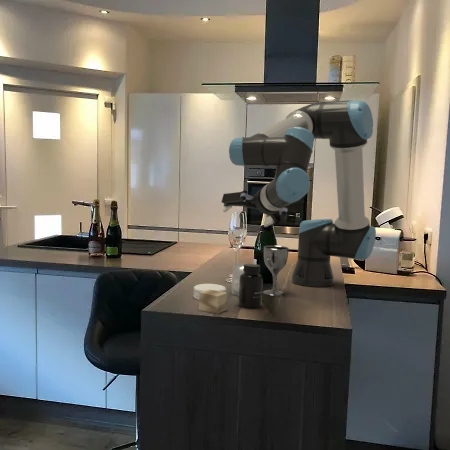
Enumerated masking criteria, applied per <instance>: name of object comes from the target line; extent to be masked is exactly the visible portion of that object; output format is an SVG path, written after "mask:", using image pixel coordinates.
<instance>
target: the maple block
mask: <svg viewBox="0 0 450 450" xmlns="http://www.w3.org/2000/svg"><path fill="white" fill-rule="evenodd" d="M198 303H199V304H198V310H199V311H203V312H208V313H210V314H211V313H212V314H217V315H218V314H220V313H222V312H224V311H228V308H227V307H228V292H227V291H225V292H221V291H215V290H210V289H209V290H206V291H203V292H200V297H199V300H198Z"/></svg>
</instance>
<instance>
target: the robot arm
mask: <svg viewBox="0 0 450 450" xmlns="http://www.w3.org/2000/svg"><path fill="white" fill-rule="evenodd" d="M373 127H374V119H373V113H372V110H371V107H370V106H369V104H368V103H367V102H366V101H365V100H353V99H352V100H350V99H349V100H336V101H319V102H314V103H311V104H307V105H305V106H303V107H300V108H298V109H295V110H293V111H292V112H290V113H288V114H287V116H286V118H285V119H283V120H281V121H279V122H277V123H275V124H273V125H271V126H270V127H268V128H266V129H263V130H262V131H260V132H258V133H255V134H254V135H251V136H248V137H244V136H241V137H235V138H233V139H232V140H231V141H230V144H229V147H228V156H229V159H230V162H231V163H232V165H235V166H242V167H244V168H245V167H272V168H274V167H275V168H276V171H275V173H274V174H275V175H274V177H273V180H271V181H269V182H267V184H266V185H264V186H262V187H261V188H260V189H259V190H258V191H257V192H256V193H255V194H248V190H246V189H245V190H242V191H237V192H227V193H223V195H222V198H221V203H222V204H223V210H222V212H224V213H227V212H228V211H229V210H230V209H232V208H233V207H246V208H247V209H254V210H258V211H259V212H260V213H262V214H264V215H267V217H265V220H264V223H263V224H264V225H263V227H264V228H267V227H269V226H271V225H275V226H279V223H280V224H281V225H283V226H285V225H286V222H287V219H288V209H289V205H291V204H293V203H296V202H298V201H300V200H301V199H302V198H303V197H305V195H307V193H308V192H309V191H310V187H311V182H310V177H309V175H308V173H307V172H308V170H309V166H310V161H311V157H312V154H313V148H314V143H315V140H316V139H319V140H329V147H330V148H331V149H332V150H334V157H335V160H334V161H335V175H336V176H335V178H336V192H337V195H336V197H337V209H338V211H337V212H338V217H337V218H336V219H335V220H333V219H332V218H321V219H320V218H319V219H307V220H303V221H301V222H300V224H299V229H298V243H297V244H298V247H297V250H298V251H297V262H296V264H295V267H294V269H293V271H292V274H291V282H292V283H294V284H297V285H301V286H306V287H313V288H315V287H317V288H319V287H320V288H321V287H323V288H326V287H332V286H333V285H334V283H335V282H334V281H335V277H334V273H333V269H332V265H331V257H337V258H344V259H351V260H363V261H365V260H367V259H369V257H370V256H371V255H372V252H373V249H374V246H375V241H376V236H377V230H376V228H375V226H373V225H370V224H371V223H370V222H371V221H370V219H369V218H368V217H367V216H365V215H366V212H365V190H364V189H365V188H364V159H363V158H364V157H363V148H364V147H365V146H366V145H367V144H368V139H371V138H372V136H373V132H374V129H373Z"/></svg>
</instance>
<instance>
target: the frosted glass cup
mask: <svg viewBox="0 0 450 450" xmlns="http://www.w3.org/2000/svg"><path fill="white" fill-rule="evenodd" d="M243 269H244V264H243V263H238V264H233V265H232V280H231V295H234V296H236V297H239V280H240V275H241V274H243V273H244V271H243Z"/></svg>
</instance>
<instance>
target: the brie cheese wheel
mask: <svg viewBox="0 0 450 450" xmlns="http://www.w3.org/2000/svg"><path fill="white" fill-rule="evenodd" d="M209 289H210V290H215V291H221V292H227V288H226V286H224V285H221V284H216V283H201V284H196V285H195V286H193V294H192V296H193V299H196V300H198V301H199V297H200V292H203V291H206V290H209Z"/></svg>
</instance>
